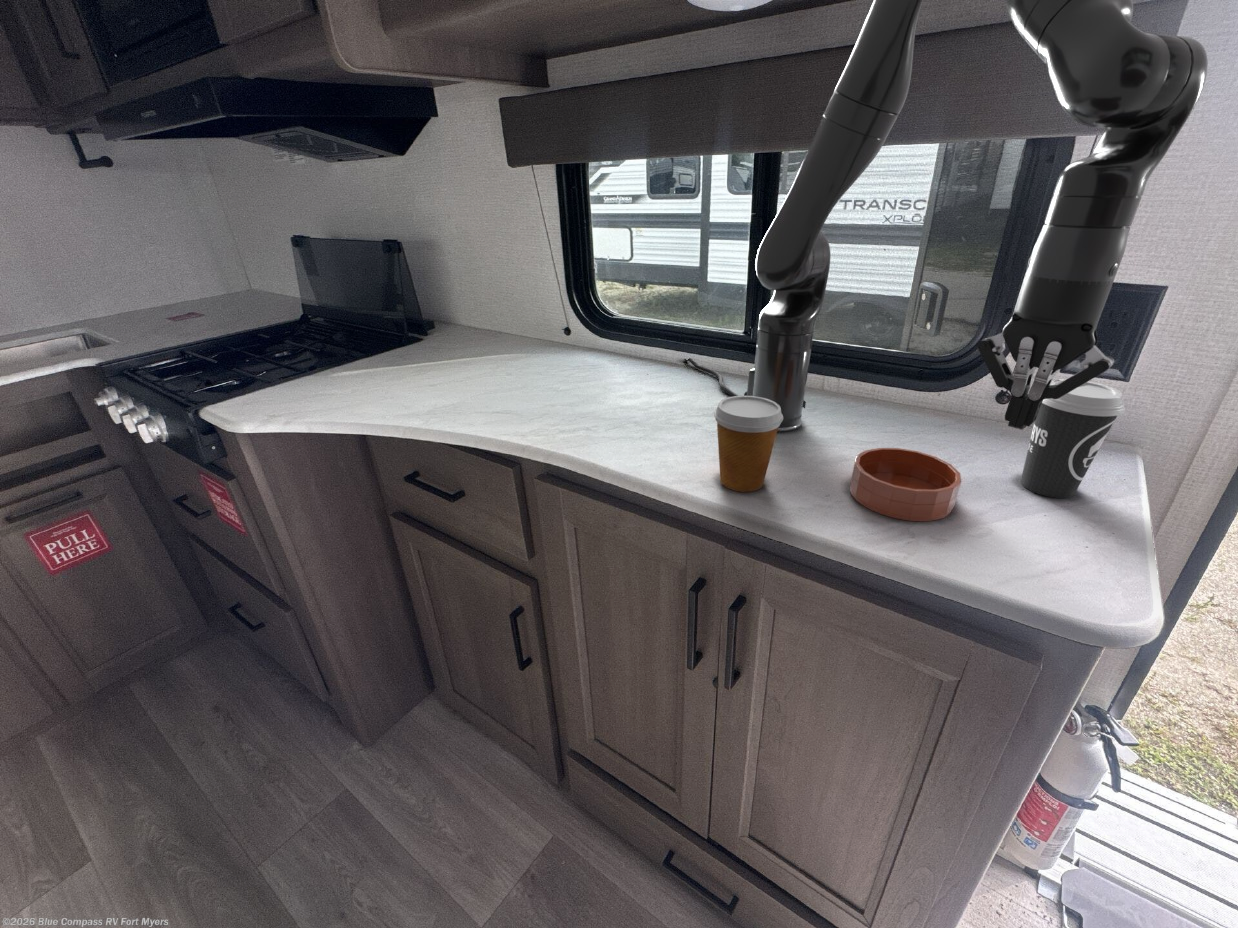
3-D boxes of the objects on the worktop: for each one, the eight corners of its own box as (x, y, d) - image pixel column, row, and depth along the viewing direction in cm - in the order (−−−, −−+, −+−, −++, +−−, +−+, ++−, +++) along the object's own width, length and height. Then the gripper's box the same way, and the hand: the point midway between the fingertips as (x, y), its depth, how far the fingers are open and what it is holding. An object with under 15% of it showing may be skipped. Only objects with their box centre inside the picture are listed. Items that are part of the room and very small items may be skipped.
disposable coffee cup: (783, 495, 80) (794, 417, 75) (717, 499, 80) (723, 420, 74) (763, 465, 89) (771, 393, 83) (703, 468, 88) (707, 395, 83)
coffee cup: (1055, 471, 86) (1091, 376, 79) (1105, 503, 78) (1151, 400, 71) (993, 472, 86) (1024, 377, 79) (1037, 504, 77) (1076, 401, 71)
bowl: (832, 495, 80) (837, 466, 78) (876, 466, 88) (882, 440, 86) (928, 533, 71) (936, 502, 69) (967, 497, 79) (976, 469, 77)
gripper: (1159, 276, 56) (1093, 434, 64) (1010, 263, 65) (968, 403, 73) (1144, 284, 52) (1076, 454, 60) (986, 269, 61) (945, 418, 69)
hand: (1017, 426), depth 66 cm, fingers closed
